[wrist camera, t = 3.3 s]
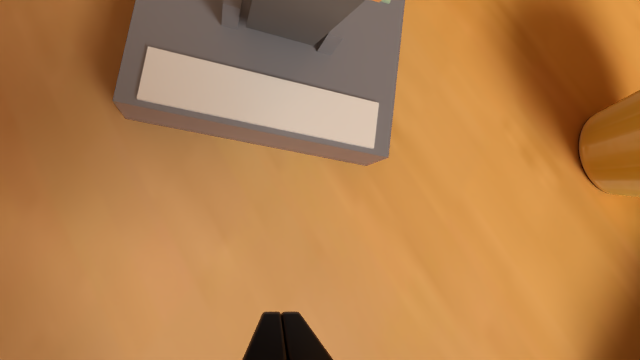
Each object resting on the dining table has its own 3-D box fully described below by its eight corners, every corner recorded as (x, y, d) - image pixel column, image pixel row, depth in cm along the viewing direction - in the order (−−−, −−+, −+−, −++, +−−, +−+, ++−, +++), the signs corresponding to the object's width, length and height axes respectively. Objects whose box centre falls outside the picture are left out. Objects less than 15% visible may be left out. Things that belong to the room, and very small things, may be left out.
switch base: (366, 165, 24) (406, 150, 19) (125, 118, 20) (100, 85, 16) (386, -6, 26) (426, -59, 21) (169, -78, 22) (159, -161, 17)
